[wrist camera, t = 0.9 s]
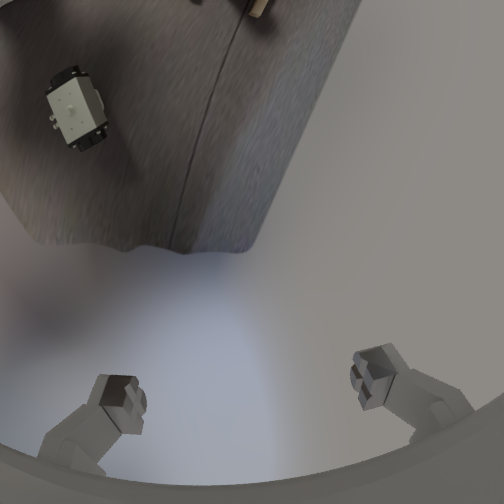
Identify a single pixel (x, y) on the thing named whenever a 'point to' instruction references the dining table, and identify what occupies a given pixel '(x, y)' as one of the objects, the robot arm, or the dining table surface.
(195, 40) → the dining table surface
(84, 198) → the dining table surface
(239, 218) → the dining table surface
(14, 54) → the dining table surface
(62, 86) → the pneumatic valve
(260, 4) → the guide track
